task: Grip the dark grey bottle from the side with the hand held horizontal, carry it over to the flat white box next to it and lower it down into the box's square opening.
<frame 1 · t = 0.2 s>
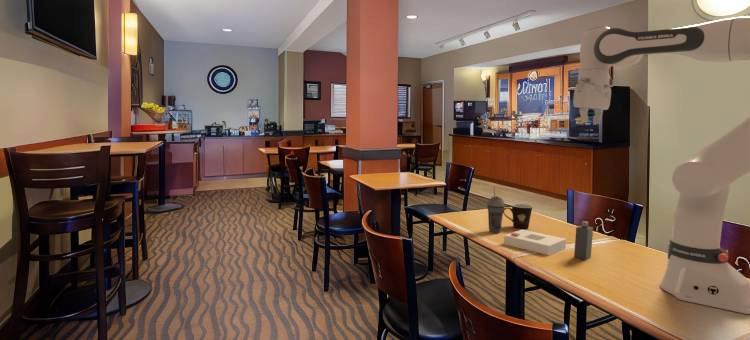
hand: (590, 122, 141), 48 cm above the table, tool pointing down, fingers open, 8 cm apart
flat white box: (534, 245, 167), on the table
beverage cup: (494, 232, 186), on the table
dark grey bottle: (582, 257, 154), on the table
coffee mug: (517, 227, 195), on the table
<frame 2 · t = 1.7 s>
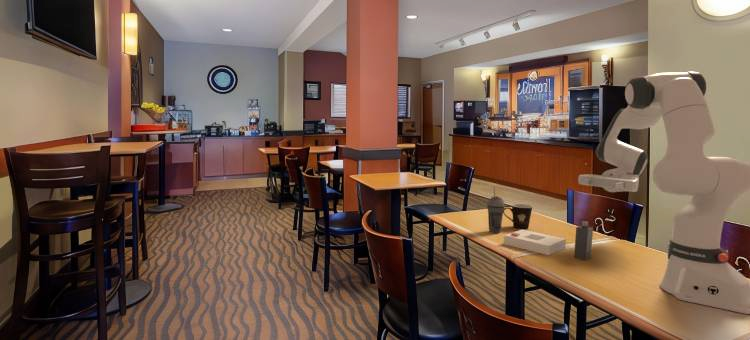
hand: (600, 184, 159), 25 cm above the table, tool horizontal, fingers open, 8 cm apart
nothing on the table moved.
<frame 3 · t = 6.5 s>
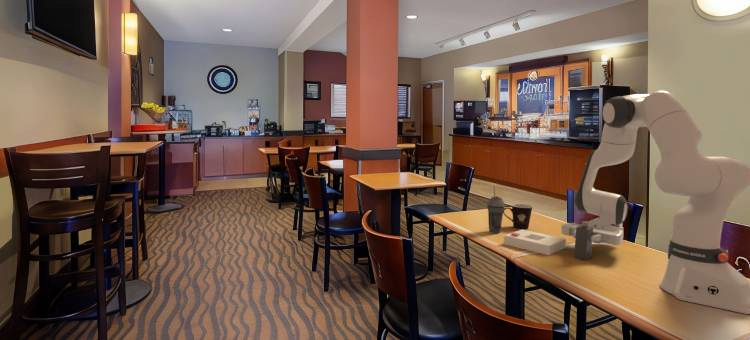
hand: (583, 237, 152), 8 cm above the table, tool horizontal, fingers closed on dark grey bottle, 4 cm apart
dark grey bottle: (582, 257, 154), on the table, touching gripper
everything else where it was.
when the fingers open (9 cm above the table, at t = 12.1 s): dark grey bottle drops 1 cm, resting in flat white box.
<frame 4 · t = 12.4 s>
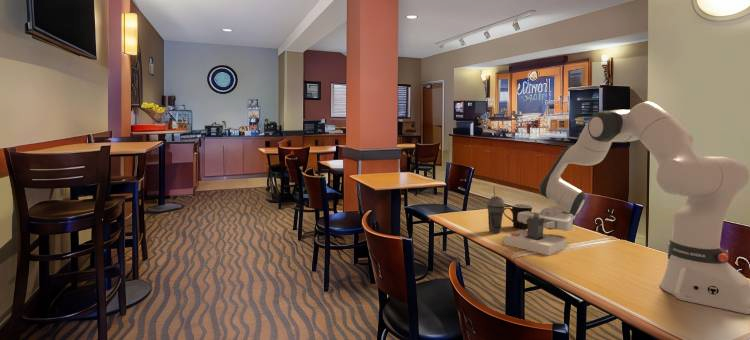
hand: (534, 223, 165), 9 cm above the table, tool horizontal, fingers open, 7 cm apart
dark grey bottle: (534, 246, 167), resting in flat white box
everything else where it was.
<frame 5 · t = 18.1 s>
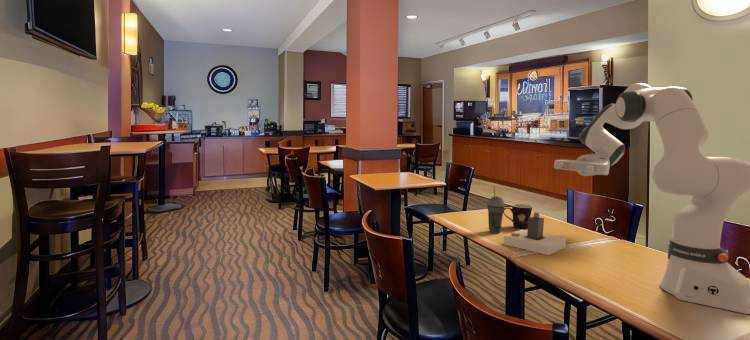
hand: (573, 167, 170), 30 cm above the table, tool horizontal, fingers open, 8 cm apart
nothing on the table moved.
at the end: dark grey bottle 0.0 cm off-centre on the flat white box, point 0.0 cm above the flat white box's base; dark grey bottle tilted 0°; the gripper is holding nothing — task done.
